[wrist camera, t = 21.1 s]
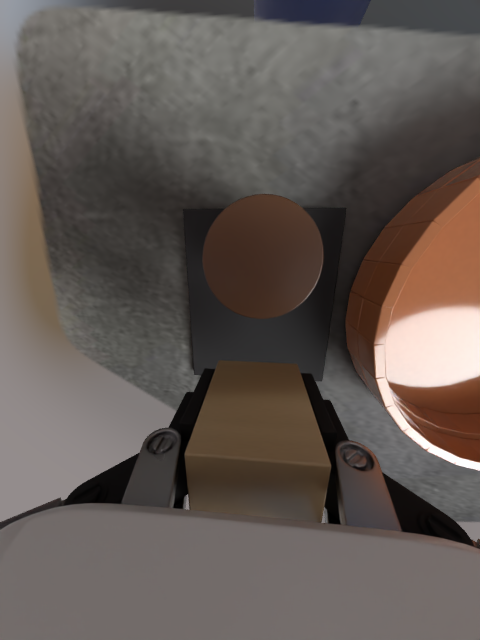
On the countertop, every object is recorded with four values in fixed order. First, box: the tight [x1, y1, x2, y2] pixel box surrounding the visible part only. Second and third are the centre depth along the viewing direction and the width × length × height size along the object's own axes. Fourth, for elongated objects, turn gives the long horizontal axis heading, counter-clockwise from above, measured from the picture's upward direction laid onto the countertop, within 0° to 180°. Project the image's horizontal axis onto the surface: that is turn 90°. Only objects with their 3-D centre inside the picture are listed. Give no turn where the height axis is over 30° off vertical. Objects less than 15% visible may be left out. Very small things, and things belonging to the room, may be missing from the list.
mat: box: [183, 208, 346, 381], centre depth 16 cm, size 12×10×1 cm
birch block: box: [185, 360, 331, 523], centre depth 9 cm, size 4×4×6 cm
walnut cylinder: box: [202, 194, 324, 319], centre depth 11 cm, size 4×4×8 cm
